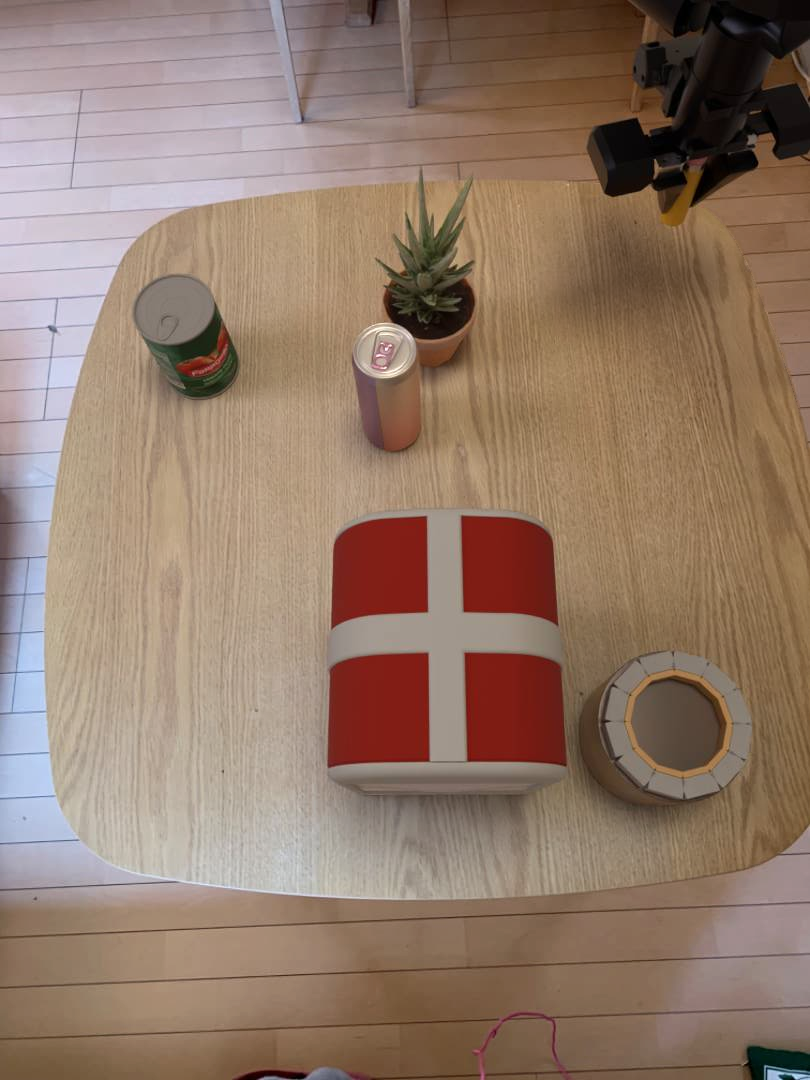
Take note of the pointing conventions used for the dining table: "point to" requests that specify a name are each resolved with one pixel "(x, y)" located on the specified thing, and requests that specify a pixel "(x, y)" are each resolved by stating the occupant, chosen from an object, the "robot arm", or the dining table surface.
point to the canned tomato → (186, 335)
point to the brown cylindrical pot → (652, 735)
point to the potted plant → (431, 285)
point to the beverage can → (388, 385)
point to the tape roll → (726, 705)
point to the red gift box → (445, 655)
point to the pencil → (685, 192)
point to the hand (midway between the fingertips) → (675, 206)
